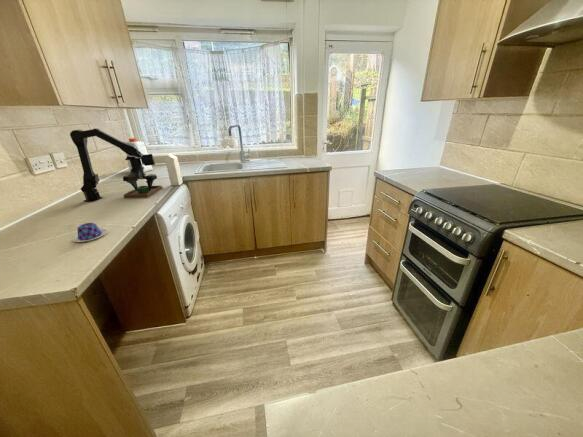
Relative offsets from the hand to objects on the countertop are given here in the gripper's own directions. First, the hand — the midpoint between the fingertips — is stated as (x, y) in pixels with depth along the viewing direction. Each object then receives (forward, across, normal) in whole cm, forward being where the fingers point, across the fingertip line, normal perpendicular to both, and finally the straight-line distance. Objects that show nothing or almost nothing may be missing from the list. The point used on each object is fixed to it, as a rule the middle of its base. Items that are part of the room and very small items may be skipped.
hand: (143, 190), depth 157 cm
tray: (+2, 0, 0) cm, 2 cm away
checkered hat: (+2, +11, -60) cm, 61 cm away
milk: (+2, +13, +19) cm, 23 cm away
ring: (+1, 0, 0) cm, 1 cm away
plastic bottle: (+2, -40, +67) cm, 78 cm away
